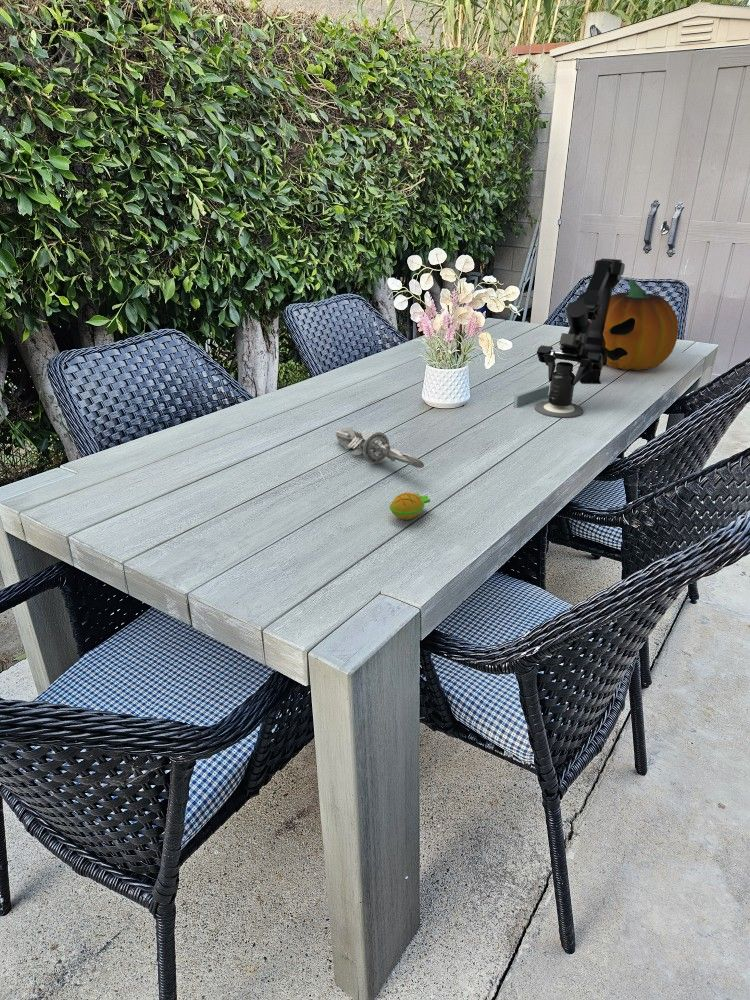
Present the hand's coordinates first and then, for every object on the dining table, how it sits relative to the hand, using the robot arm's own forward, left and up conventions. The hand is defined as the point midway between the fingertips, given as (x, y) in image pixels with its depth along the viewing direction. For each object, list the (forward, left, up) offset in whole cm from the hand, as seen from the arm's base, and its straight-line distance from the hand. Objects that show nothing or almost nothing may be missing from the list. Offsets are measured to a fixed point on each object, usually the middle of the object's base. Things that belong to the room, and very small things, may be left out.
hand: (561, 382), depth 199 cm
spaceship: (+52, +41, -9) cm, 67 cm away
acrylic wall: (+6, -9, -9) cm, 14 cm away
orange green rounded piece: (+44, +68, -9) cm, 82 cm away
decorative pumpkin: (-35, -52, -9) cm, 63 cm away
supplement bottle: (-1, -1, -7) cm, 7 cm away
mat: (-1, -1, -9) cm, 9 cm away
